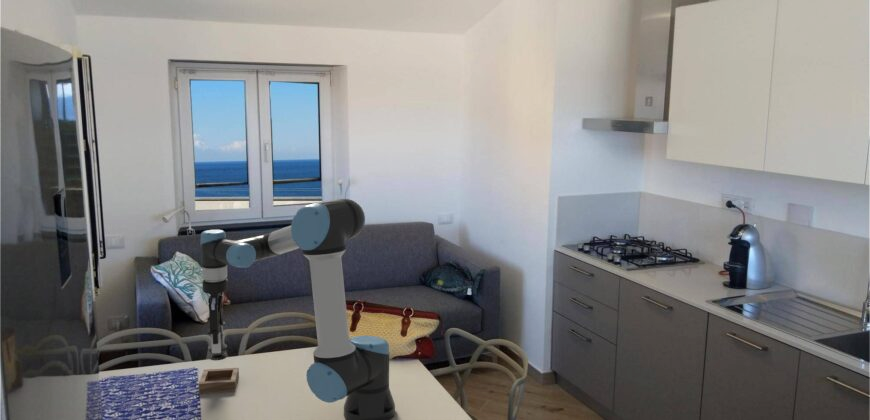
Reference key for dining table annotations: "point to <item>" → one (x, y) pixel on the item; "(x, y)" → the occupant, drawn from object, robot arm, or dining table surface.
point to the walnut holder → (219, 380)
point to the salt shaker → (223, 348)
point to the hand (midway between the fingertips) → (217, 348)
